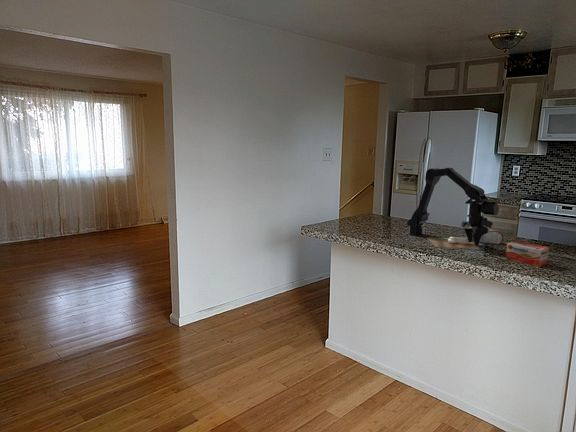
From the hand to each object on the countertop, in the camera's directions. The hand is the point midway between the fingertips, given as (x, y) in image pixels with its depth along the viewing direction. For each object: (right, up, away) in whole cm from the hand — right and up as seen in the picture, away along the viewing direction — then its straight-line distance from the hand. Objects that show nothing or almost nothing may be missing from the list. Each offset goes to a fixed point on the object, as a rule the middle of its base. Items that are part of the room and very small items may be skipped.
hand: (473, 243), depth 208 cm
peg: (-4, 0, +7) cm, 8 cm away
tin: (+12, -1, +10) cm, 16 cm away
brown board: (-8, -1, +7) cm, 11 cm away
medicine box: (+15, -7, -20) cm, 26 cm away
